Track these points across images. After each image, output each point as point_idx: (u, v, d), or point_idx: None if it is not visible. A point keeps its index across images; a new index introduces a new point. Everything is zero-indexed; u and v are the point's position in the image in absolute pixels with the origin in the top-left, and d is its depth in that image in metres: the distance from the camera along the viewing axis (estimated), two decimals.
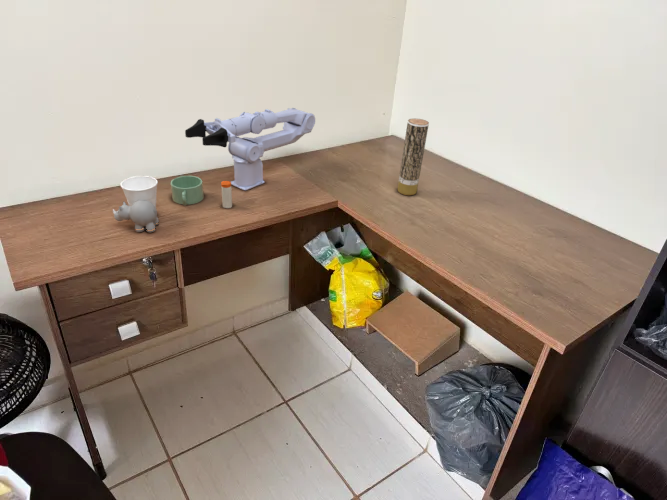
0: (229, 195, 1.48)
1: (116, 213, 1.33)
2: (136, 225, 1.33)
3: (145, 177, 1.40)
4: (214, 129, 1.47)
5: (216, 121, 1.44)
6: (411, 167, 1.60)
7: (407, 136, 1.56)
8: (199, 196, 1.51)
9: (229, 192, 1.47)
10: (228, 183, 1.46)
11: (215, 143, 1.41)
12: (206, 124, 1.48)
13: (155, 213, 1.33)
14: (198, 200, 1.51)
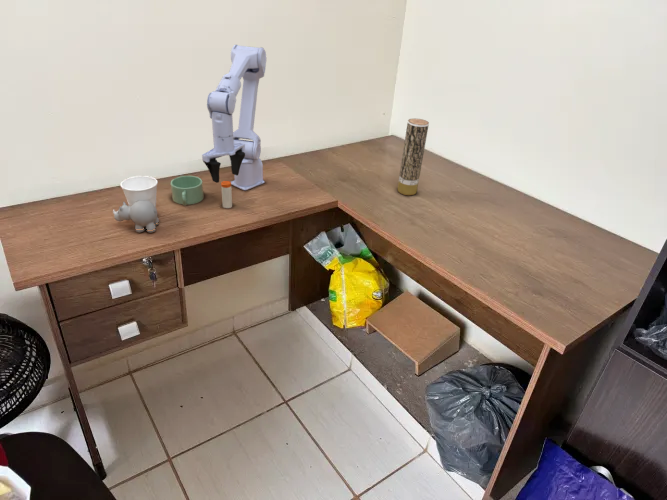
0: (229, 195, 1.48)
1: (116, 213, 1.33)
2: (136, 225, 1.33)
3: (145, 177, 1.40)
4: None
5: (230, 154, 1.39)
6: (411, 167, 1.60)
7: (407, 136, 1.56)
8: (199, 196, 1.51)
9: (229, 192, 1.47)
10: (228, 183, 1.46)
11: None
12: None
13: (155, 213, 1.33)
14: (198, 200, 1.51)
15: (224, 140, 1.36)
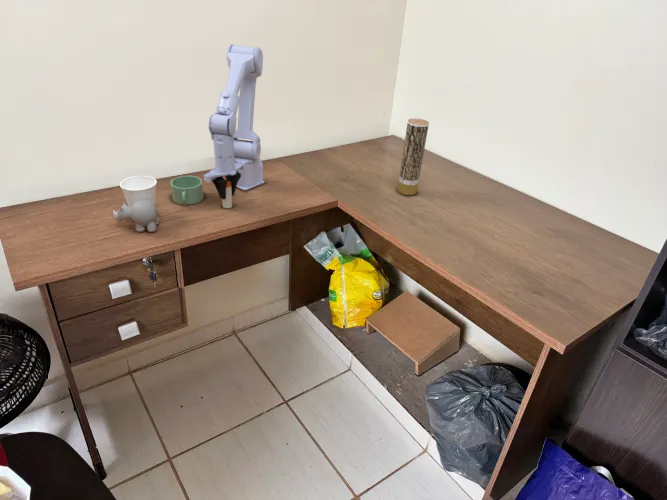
0: (229, 195, 1.48)
1: (116, 214, 1.33)
2: (137, 225, 1.33)
3: (143, 177, 1.40)
4: None
5: None
6: (411, 167, 1.60)
7: (407, 136, 1.56)
8: (199, 196, 1.51)
9: (229, 192, 1.47)
10: (228, 183, 1.46)
11: None
12: None
13: (156, 213, 1.34)
14: (198, 200, 1.51)
15: (225, 161, 1.40)
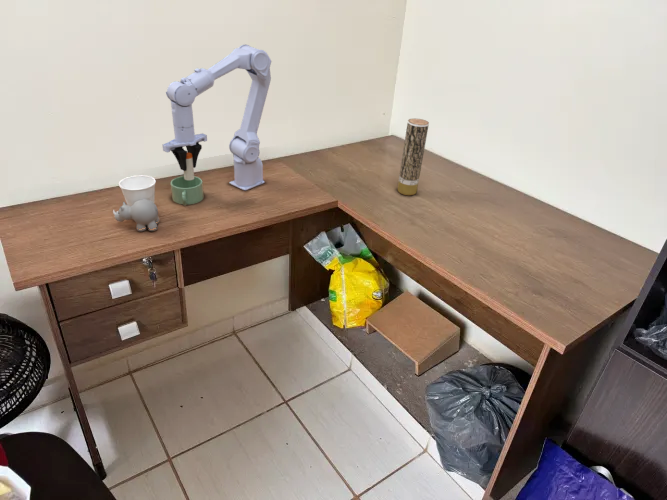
0: (190, 167, 1.47)
1: (117, 214, 1.33)
2: (138, 224, 1.33)
3: (141, 176, 1.40)
4: None
5: None
6: (411, 167, 1.59)
7: (407, 136, 1.56)
8: (199, 196, 1.51)
9: (190, 163, 1.46)
10: (189, 154, 1.45)
11: None
12: None
13: (157, 211, 1.34)
14: (198, 200, 1.51)
15: (184, 130, 1.39)
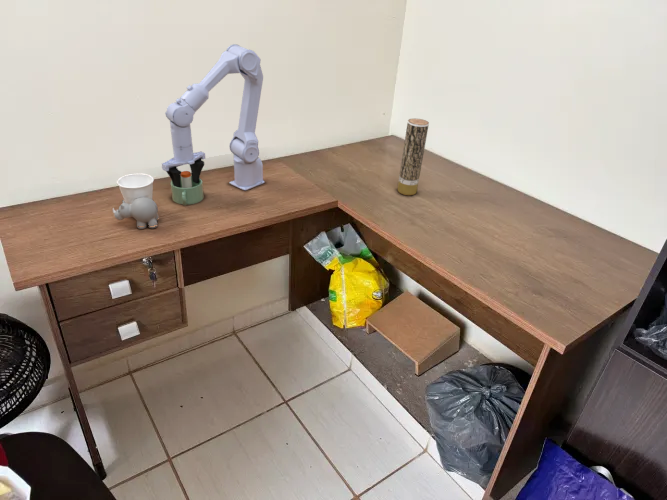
0: (189, 185, 1.50)
1: (116, 212, 1.33)
2: (139, 222, 1.34)
3: (138, 175, 1.41)
4: None
5: None
6: (411, 167, 1.60)
7: (407, 136, 1.56)
8: (199, 196, 1.51)
9: (188, 182, 1.50)
10: (187, 173, 1.49)
11: None
12: None
13: (157, 209, 1.35)
14: (198, 200, 1.51)
15: (183, 150, 1.42)
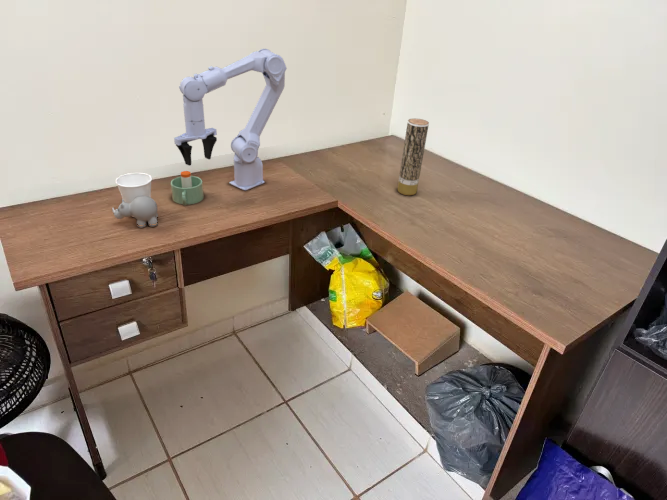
0: (189, 185, 1.50)
1: (116, 211, 1.34)
2: (139, 221, 1.35)
3: (136, 174, 1.41)
4: None
5: None
6: (411, 167, 1.60)
7: (407, 136, 1.56)
8: (199, 196, 1.51)
9: (188, 182, 1.50)
10: (187, 173, 1.49)
11: None
12: None
13: (156, 207, 1.36)
14: (198, 200, 1.51)
15: (195, 124, 1.44)
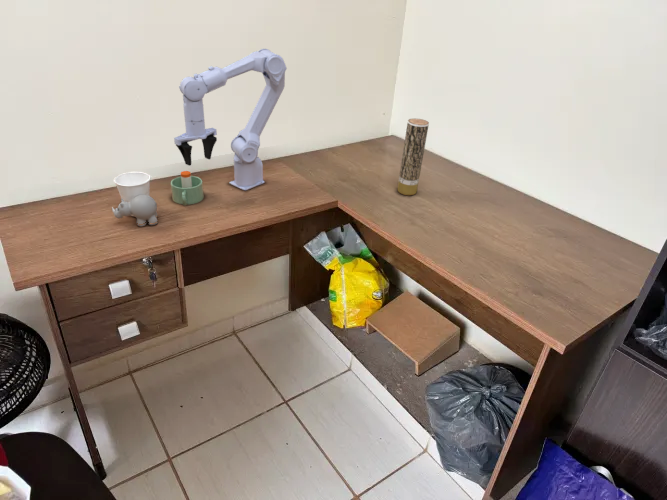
0: (189, 185, 1.50)
1: (116, 211, 1.34)
2: (139, 220, 1.35)
3: (134, 173, 1.42)
4: None
5: None
6: (411, 167, 1.60)
7: (407, 136, 1.56)
8: (199, 196, 1.51)
9: (188, 182, 1.50)
10: (187, 173, 1.49)
11: None
12: None
13: (156, 206, 1.37)
14: (198, 200, 1.51)
15: (195, 124, 1.44)
